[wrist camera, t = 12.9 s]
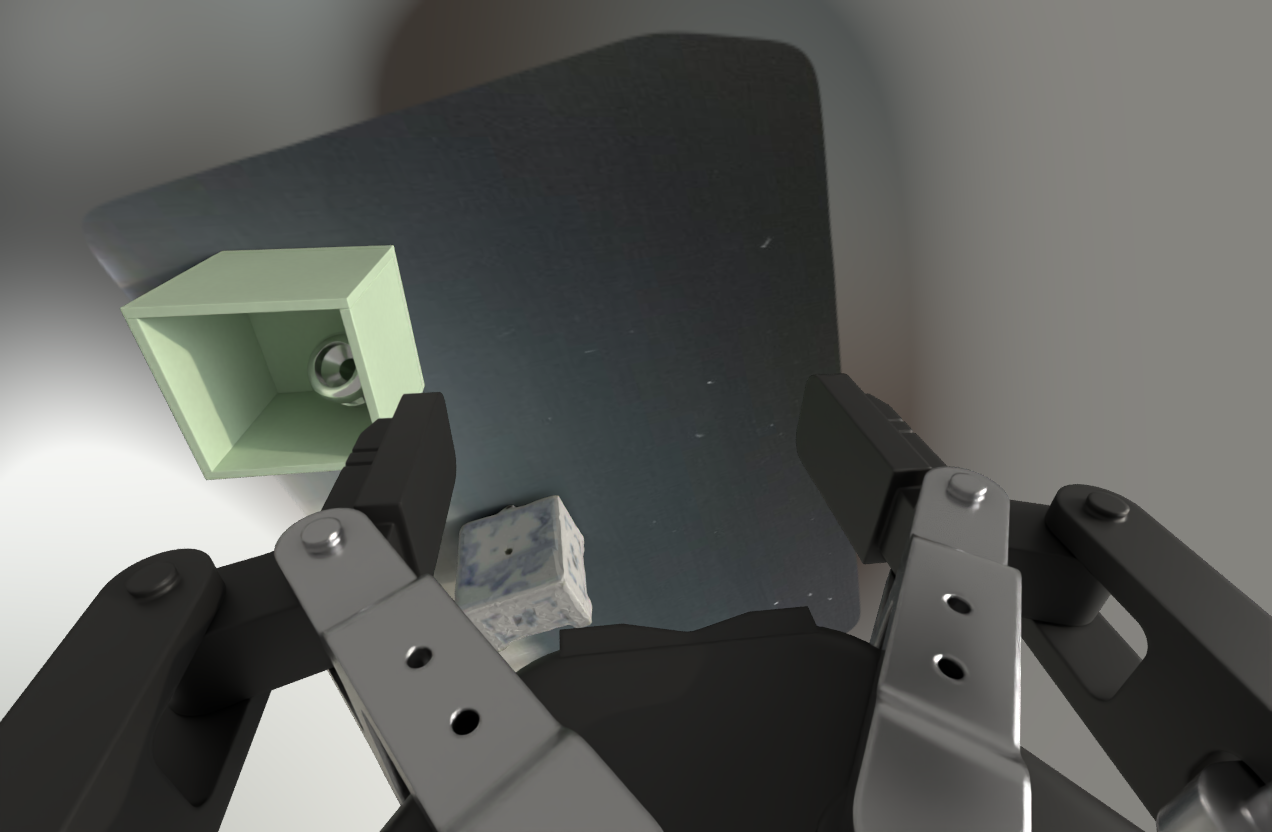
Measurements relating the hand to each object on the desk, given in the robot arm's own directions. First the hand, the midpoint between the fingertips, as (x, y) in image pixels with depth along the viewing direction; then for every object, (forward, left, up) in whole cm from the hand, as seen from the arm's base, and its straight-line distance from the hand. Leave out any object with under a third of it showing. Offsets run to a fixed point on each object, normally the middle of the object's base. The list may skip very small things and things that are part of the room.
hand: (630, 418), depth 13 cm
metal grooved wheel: (+10, -18, -29) cm, 35 cm away
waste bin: (+9, -18, -31) cm, 37 cm away
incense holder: (+31, -6, -31) cm, 45 cm away
